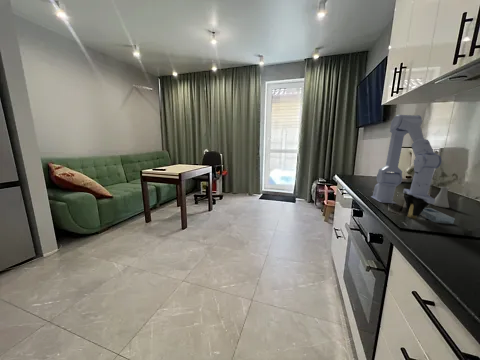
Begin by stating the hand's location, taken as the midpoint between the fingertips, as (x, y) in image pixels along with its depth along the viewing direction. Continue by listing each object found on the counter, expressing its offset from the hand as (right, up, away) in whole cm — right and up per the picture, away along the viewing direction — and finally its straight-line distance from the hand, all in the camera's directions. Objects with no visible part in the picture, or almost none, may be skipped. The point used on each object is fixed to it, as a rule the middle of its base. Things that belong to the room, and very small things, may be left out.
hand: (412, 213), depth 86 cm
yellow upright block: (0, -2, 0) cm, 2 cm away
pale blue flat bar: (+10, -1, +4) cm, 11 cm away
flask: (+31, +1, +19) cm, 36 cm away
